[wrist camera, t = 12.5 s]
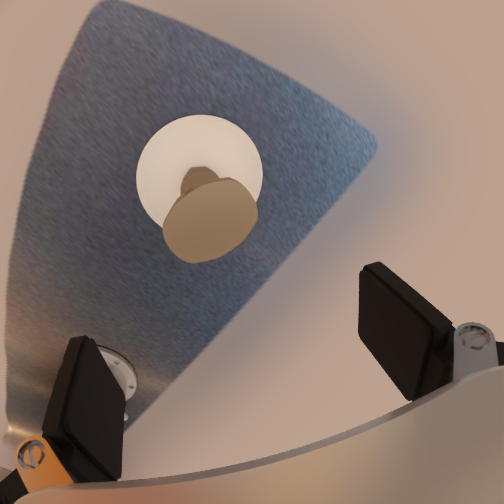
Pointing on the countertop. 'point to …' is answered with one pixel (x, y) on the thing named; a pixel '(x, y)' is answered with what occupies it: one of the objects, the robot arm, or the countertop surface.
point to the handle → (208, 216)
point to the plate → (194, 160)
